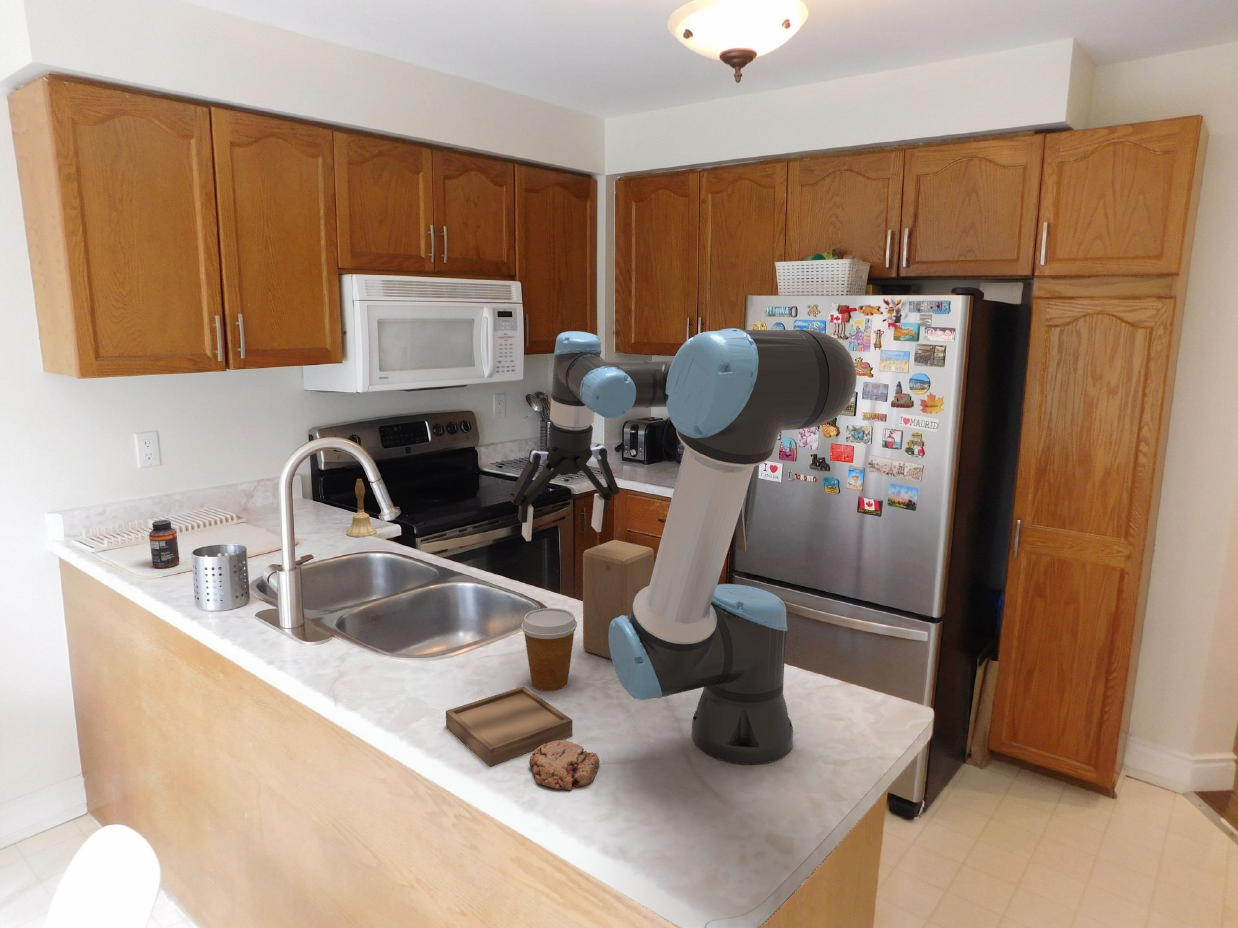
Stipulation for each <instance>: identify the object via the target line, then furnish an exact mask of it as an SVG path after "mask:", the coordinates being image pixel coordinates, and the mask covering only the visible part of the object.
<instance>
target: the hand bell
mask: <svg viewBox="0 0 1238 928" xmlns="http://www.w3.org/2000/svg"><path fill="white" fill-rule="evenodd" d="M354 491H355V492H354V493H355V497H356V500H357V512H356V513H355V514H353V515H352V522H351V526H350V528H349V529H348V530H347V531H346V533H345V534H346V536H348V537H353V538H354V537H355V538H364V537H371V536H374V535H376V534H377V532H378V531H377V530H376V529H375V528H374V526H373V525H372V522H371V519H370V514H369V513H366V512H365V507H364V498H365V493H366V489H365V485H364V481H363V479H362V478H357V479H356V482H355V487H354Z"/></svg>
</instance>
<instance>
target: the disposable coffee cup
mask: <svg viewBox="0 0 1238 928" xmlns="http://www.w3.org/2000/svg"><path fill="white" fill-rule="evenodd" d="M520 624H521V625H520V626H521V627H520V628H521V629H522V631H523V633H524V640H525V646H526V654H527V660H528V667H529V674H530V675H529V676H530V681H531V682H530V683H531V685H532V687H534V688H535V689H537V690H540V691H549V692H551V691H557V690H562V689H563V688H565V687H567V685H568V684H569V677H570V668H571V660H572V651H573V644H574V637H575V631H576V629H577V627H578V622H577V619H576V618H575V615H574V613H573V612H571V611H570V610H567V609H564V608H559V607H558V608H556V607H547V608H546V607H545V608H539V609H534V610H531V611H529V612H527V613H526V614H525V615H524V616H523V621H522V622H521V623H520Z"/></svg>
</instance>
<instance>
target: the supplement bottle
mask: <svg viewBox="0 0 1238 928" xmlns="http://www.w3.org/2000/svg"><path fill="white" fill-rule="evenodd" d="M151 525H152V530H151V531H149V533H148V536H149V544H150V545H149V547H150V552H151V554H150V555H151V562H152V567H153V568H155V569H170V568H173V567H175V566H178V565H179V564H180V552H179V545H178V536H177V530H176V529H175V528H173V527H172V522H171V520H169V519H159V520H155V521H153V522H152V524H151Z"/></svg>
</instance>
